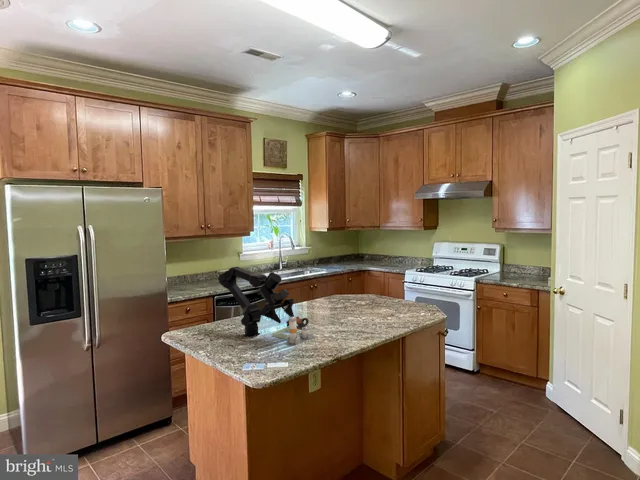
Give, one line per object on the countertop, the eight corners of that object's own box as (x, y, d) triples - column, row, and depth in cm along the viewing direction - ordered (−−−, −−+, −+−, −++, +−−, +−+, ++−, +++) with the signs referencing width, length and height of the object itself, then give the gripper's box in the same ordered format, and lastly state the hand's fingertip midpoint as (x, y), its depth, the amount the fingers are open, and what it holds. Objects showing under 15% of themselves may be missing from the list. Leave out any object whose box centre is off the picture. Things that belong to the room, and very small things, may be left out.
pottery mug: (292, 334, 213) (286, 320, 215) (289, 338, 222) (283, 324, 224) (313, 325, 218) (306, 311, 220) (309, 329, 226) (303, 315, 228)
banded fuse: (288, 343, 195) (287, 318, 194) (292, 341, 198) (291, 316, 197) (294, 344, 193) (293, 318, 192) (298, 342, 196) (297, 317, 195)
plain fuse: (300, 338, 202) (300, 328, 202) (305, 336, 205) (304, 326, 205) (306, 339, 200) (306, 329, 200) (310, 337, 203) (310, 327, 202)
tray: (272, 338, 207) (272, 332, 207) (285, 332, 216) (285, 327, 215) (289, 341, 201) (289, 335, 201) (302, 335, 210) (302, 330, 209)
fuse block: (283, 345, 194) (282, 338, 194) (306, 336, 207) (306, 329, 207) (292, 348, 190) (292, 340, 190) (315, 338, 204) (315, 331, 203)
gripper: (263, 287, 192) (281, 314, 186) (290, 281, 206) (308, 306, 200) (252, 303, 197) (270, 329, 191) (279, 296, 212) (297, 320, 206)
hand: (287, 320), depth 197 cm, fingers open, 9 cm apart
